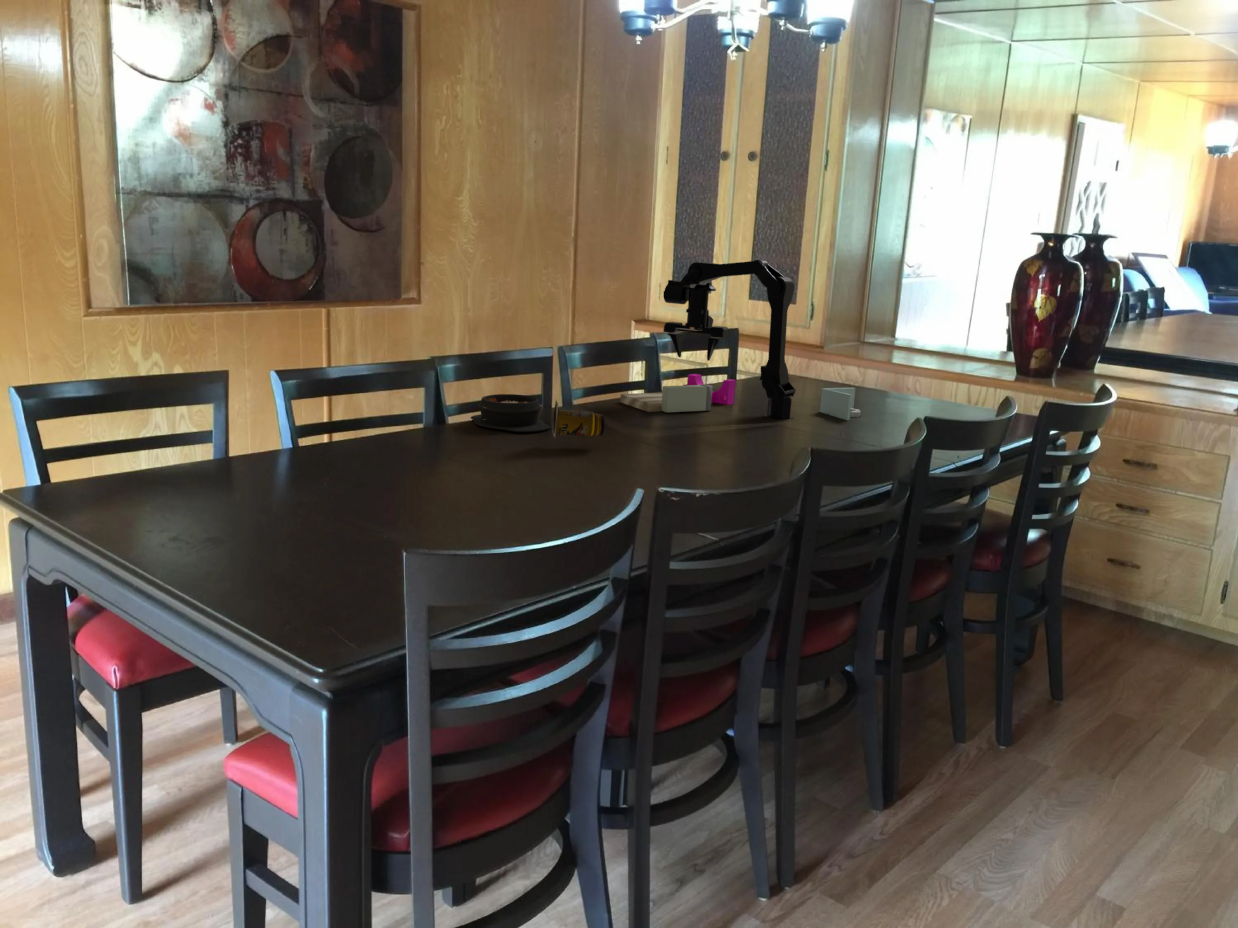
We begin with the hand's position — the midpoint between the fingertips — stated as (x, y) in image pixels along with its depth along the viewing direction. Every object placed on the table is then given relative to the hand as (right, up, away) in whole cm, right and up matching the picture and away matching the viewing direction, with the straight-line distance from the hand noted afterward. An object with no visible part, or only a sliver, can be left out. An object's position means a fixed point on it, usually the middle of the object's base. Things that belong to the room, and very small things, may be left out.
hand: (693, 358), depth 288 cm
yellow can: (-38, -20, -54) cm, 69 cm away
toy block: (+5, -12, +11) cm, 17 cm away
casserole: (-51, -22, -30) cm, 63 cm away
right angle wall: (+46, -17, -1) cm, 49 cm away
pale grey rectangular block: (-3, -16, -10) cm, 19 cm away
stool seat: (-9, -14, -2) cm, 17 cm away
